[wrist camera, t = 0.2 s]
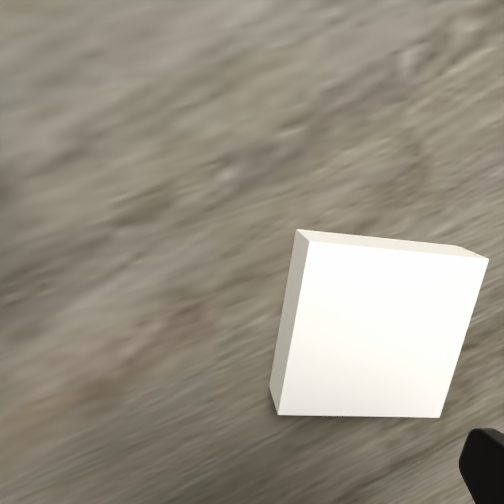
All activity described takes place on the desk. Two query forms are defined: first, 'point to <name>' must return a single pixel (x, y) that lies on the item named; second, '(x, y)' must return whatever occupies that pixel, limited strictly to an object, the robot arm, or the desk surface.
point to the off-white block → (372, 325)
